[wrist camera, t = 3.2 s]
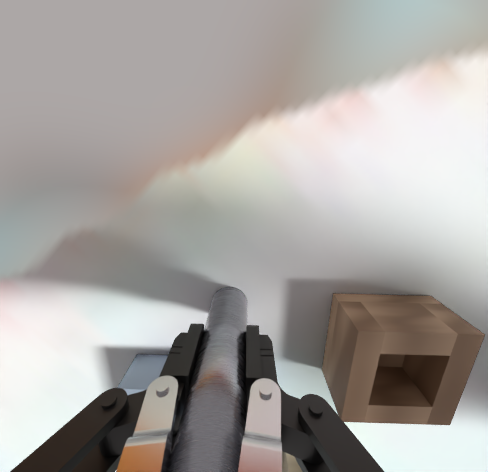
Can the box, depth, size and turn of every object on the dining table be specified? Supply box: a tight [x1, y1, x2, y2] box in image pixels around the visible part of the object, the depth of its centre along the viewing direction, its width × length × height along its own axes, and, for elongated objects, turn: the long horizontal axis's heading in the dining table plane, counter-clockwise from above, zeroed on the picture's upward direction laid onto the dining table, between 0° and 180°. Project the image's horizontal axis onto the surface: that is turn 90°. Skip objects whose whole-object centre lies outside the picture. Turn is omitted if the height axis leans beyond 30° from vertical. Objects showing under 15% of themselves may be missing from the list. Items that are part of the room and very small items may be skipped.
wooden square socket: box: [322, 293, 485, 425], centre depth 16 cm, size 7×7×4 cm
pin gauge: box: [168, 287, 247, 472], centre depth 11 cm, size 3×3×12 cm
